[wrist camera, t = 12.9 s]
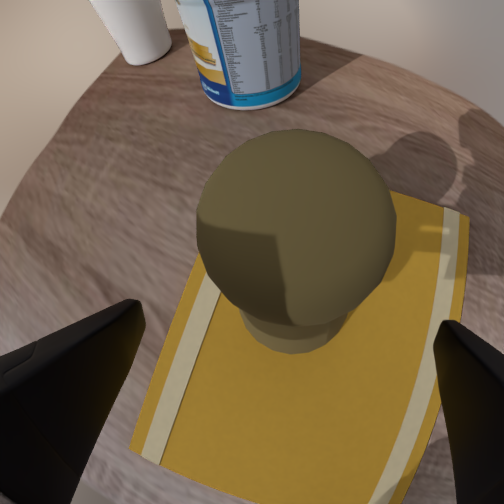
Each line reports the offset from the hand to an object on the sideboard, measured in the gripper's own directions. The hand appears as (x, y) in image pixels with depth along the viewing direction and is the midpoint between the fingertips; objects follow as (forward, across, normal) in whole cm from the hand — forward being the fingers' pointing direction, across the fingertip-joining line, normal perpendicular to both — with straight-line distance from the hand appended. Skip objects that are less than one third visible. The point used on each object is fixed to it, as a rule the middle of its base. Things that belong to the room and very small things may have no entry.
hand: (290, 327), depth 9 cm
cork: (+8, 0, +4) cm, 9 cm away
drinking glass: (+25, +16, -13) cm, 32 cm away
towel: (+6, -2, +6) cm, 8 cm away
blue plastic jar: (+20, +4, -8) cm, 22 cm away
